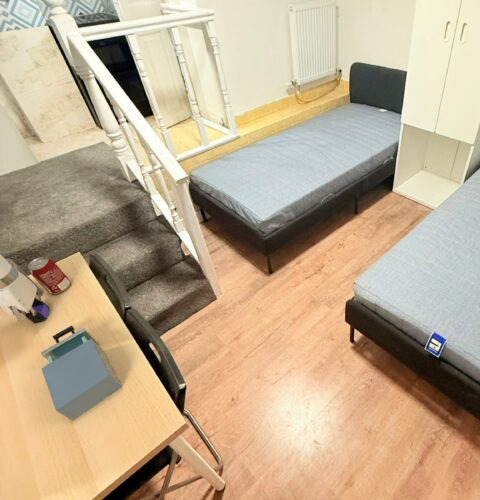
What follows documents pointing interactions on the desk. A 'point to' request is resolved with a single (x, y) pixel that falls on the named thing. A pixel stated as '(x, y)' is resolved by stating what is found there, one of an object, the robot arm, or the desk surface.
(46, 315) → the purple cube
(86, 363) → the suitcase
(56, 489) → the desk surface
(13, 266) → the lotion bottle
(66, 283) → the soda can
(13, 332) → the desk surface
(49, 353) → the drawer
